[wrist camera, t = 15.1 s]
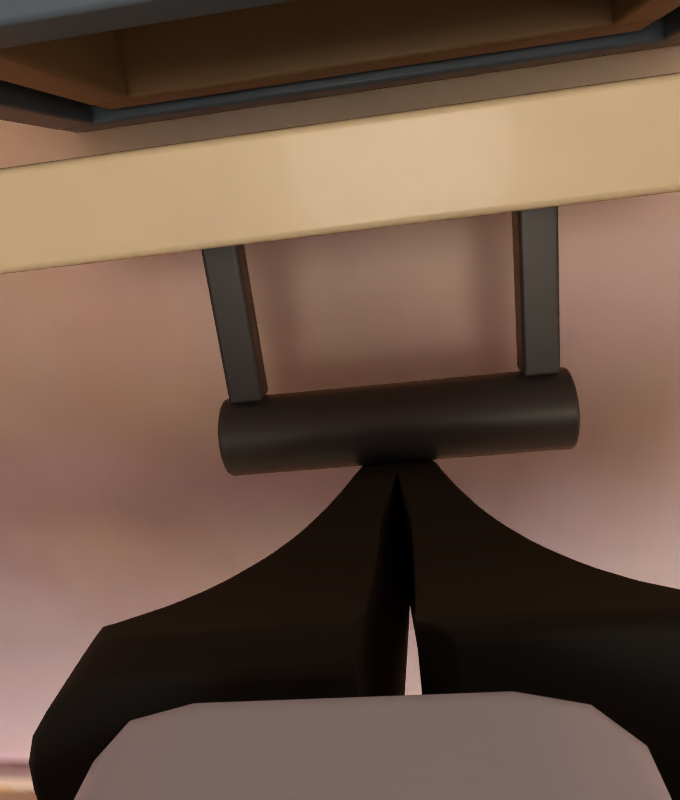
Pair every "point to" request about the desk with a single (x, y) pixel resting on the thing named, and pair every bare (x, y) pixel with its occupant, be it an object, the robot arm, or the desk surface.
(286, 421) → the drawer
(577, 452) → the desk surface
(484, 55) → the cabinet
